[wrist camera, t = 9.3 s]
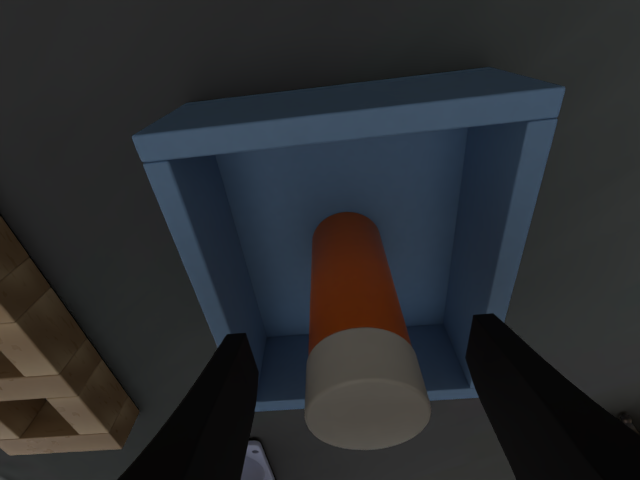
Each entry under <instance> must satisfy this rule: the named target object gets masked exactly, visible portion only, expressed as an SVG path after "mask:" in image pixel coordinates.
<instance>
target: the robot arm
mask: <svg viewBox="0 0 640 480" xmlns="http://www.w3.org/2000/svg"><path fill="white" fill-rule="evenodd" d="M465 359H466V362H467V365H468V369H469V372H470V375H471V378H472V381H473V384H474V387H475V390H476V392H477V394H478V396H479V399H480V401H481V403H482V405H483V407H484V410H485V412H486V414H487V416H488V418H489V420H490V423H491V425H492V427H493V429H494V431H495V433H496V435H497V438H498V440H499V442H500V444H501V446H502V448H503V451H504V453H505V455H506V457H507V459H508V461H509V463H510V466H511V468H512V470H513V473H514V475H515V477H516V480H640V435H639V434H638V433H636V432H635V431H634V430H632V429H631V428H629V427H628V426H627V425H625V424H624V423H622V422H621V421H620V420H618V419H617V418H615V417H614V416H613V415H611V414H610V413H609V412H607V411H606V410H605V409H604V408H602V407H601V406H600V405H598V404H597V403H596V402H595V401H593V400H592V399H591V398H590V397H588V396H587V395H586V394H585V393H583V392H582V391H581V390H580V389H578V388H577V387H576V386H575V385H573V384H572V383H571V382H570V381H569V380H567V379H566V378H565V377H564V376H563V375H561V374H560V373H559V372H558V371H557V370H556V369H555V368H553V367H552V366H551V365H550V364H549V363H548V362H546V361H545V360H544V359H543V358H542V357H541V356H540V355H538V354H537V353H536V352H535V351H534V350H533V349H532V348H531V347H530V346H529V345H527V344H526V343H525V342H524V341H523V340H522V339H521V338H520V337H519V336H518V335H517V334H515V333H514V332H513V331H512V330H511V329H510V328H509V327H508V326H507V325H506V324H505V323H504V322H503V321H501V320H500V319H499V318H498V317H497V316H496V315H495V314H494V313H490V314H477V315H473V319H472V324H471V329H470V334H469V340H468V345H467V350H466V356H465ZM258 377H259V371H258V368H257V365H256V362H255V359H254V356H253V353H252V350H251V347H250V344H249V341H248V338H247V335H246V333H235V334H227V335H226V336H225V337H224V339H223V341H222V342H221V344H220V345H219V347H218V348H217V350H216V352H215V353H214V355H213V356H212V358H211V359H210V361H209V362H208V364H207V366H206V367H205V369H204V370H203V372H202V373H201V375H200V376H199V377H198V379H197V380H196V382H195V383H194V385H193V386H192V388H191V389H190V390H189V392H188V393H187V395H186V396H185V398H184V399H183V400H182V402H181V403H180V404H179V406H178V407H177V408H176V410H175V411H174V412H173V414H172V415H171V416H170V418H169V419H168V420H167V422H166V423H165V424H164V426H163V427H162V428H161V429H160V431H159V432H158V433H157V434H156V436H155V437H154V438H153V439H152V441H151V442H150V443H149V444H148V445H147V447H146V448H145V449H144V450H143V451H142V452H141V454H140V455H139V456H138V457H137V458H136V459H135V461H134V462H133V463H132V464H131V465H130V466H129V467H128V468H127V469H126V471H125V472H124V473H123V474H122V475H121V476H120V477H119V478H118V479H117V480H275V478H274V475H273V473H272V470H271V468H270V465H269V463H268V460H267V458H266V455H265V453H264V450H263V448H262V445H261V443H260V442H259V441H255V440H253V441H249V437H250V432H251V427H252V422H253V417H254V412H255V407H256V399H257V390H258Z"/></svg>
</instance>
